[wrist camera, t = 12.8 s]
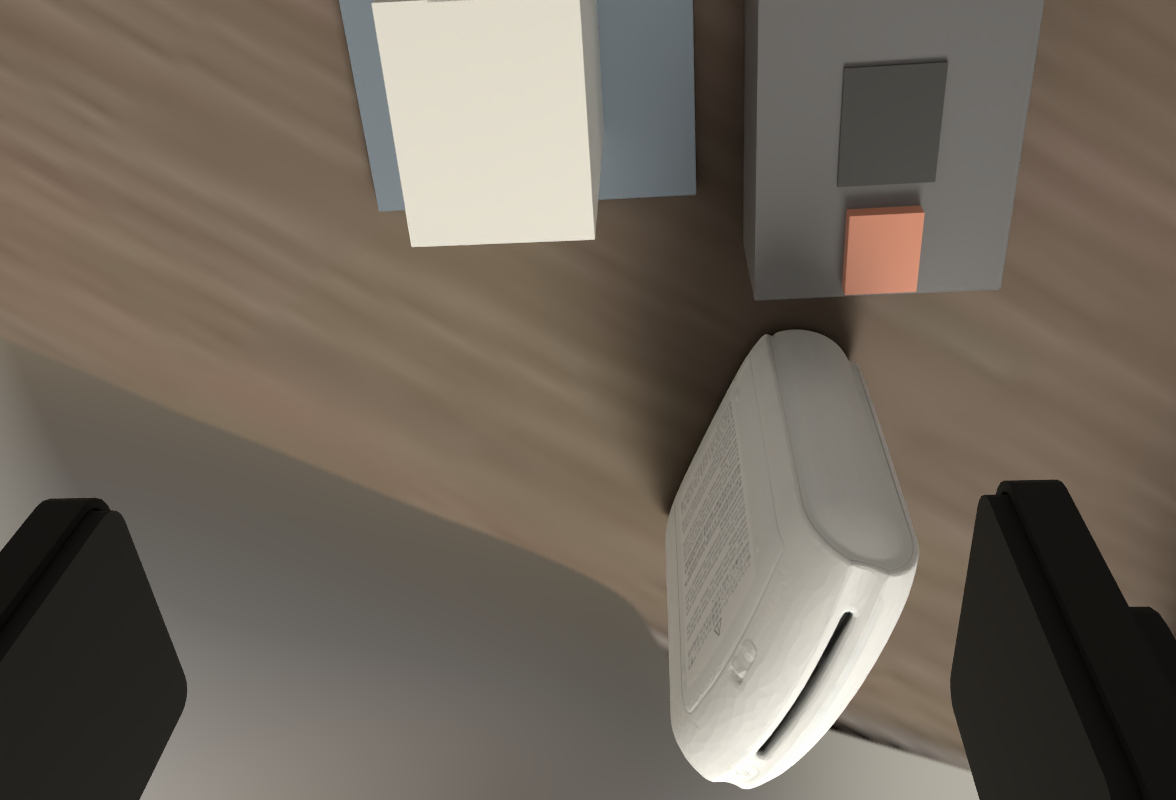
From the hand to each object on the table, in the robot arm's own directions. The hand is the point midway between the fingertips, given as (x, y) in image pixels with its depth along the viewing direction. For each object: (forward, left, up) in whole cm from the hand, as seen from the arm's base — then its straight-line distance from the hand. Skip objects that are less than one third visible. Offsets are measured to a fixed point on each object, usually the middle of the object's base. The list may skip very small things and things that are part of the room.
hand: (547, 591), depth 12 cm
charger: (+2, -1, -22) cm, 23 cm away
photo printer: (-5, +14, -23) cm, 28 cm away
